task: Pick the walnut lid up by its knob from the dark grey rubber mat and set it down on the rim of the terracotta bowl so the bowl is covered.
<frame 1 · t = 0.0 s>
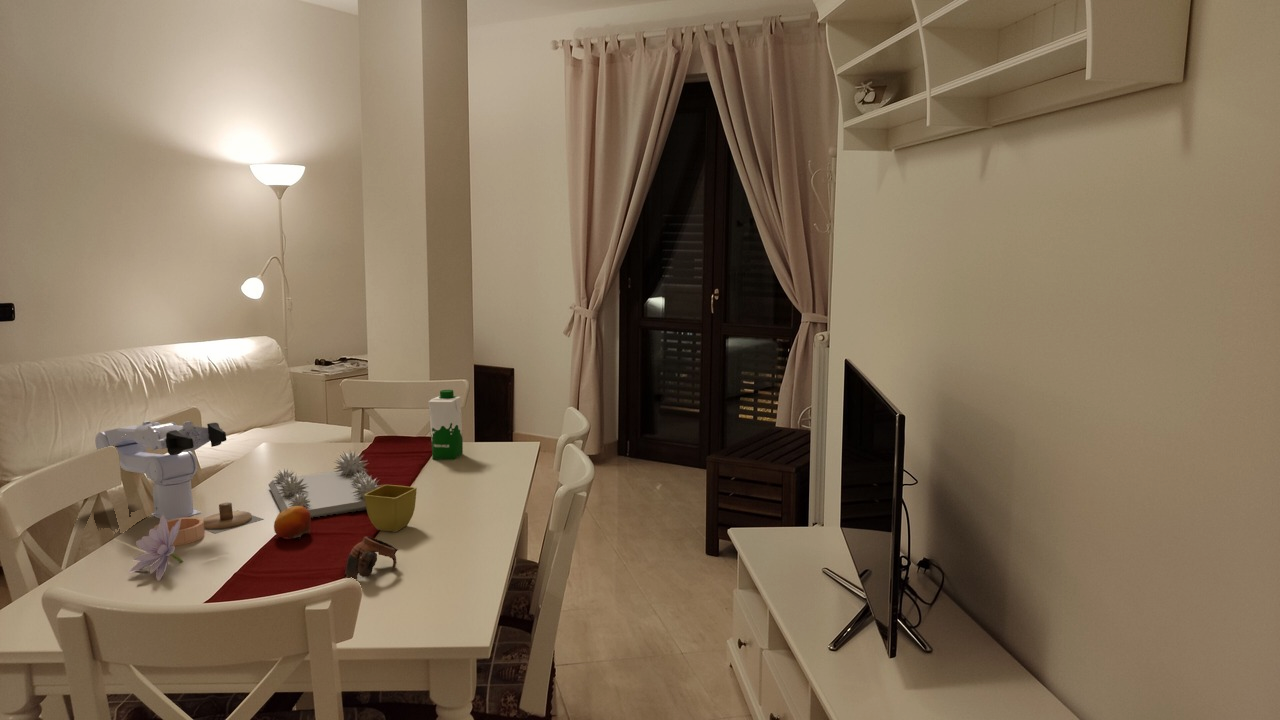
hand: (208, 439, 204), 22 cm above the table, tool horizontal, fingers open, 7 cm apart
mat: (227, 523, 212), on the table
decorative tray: (329, 500, 231), on the table
flower pot: (393, 529, 206), on the table
bowl: (180, 539, 201), on the table
fruit: (294, 536, 202), on the table
lid: (226, 521, 212), resting on mat
milk carton: (447, 457, 270), on the table
water lily: (157, 571, 183), on the table
pottery mug: (370, 575, 179), on the table
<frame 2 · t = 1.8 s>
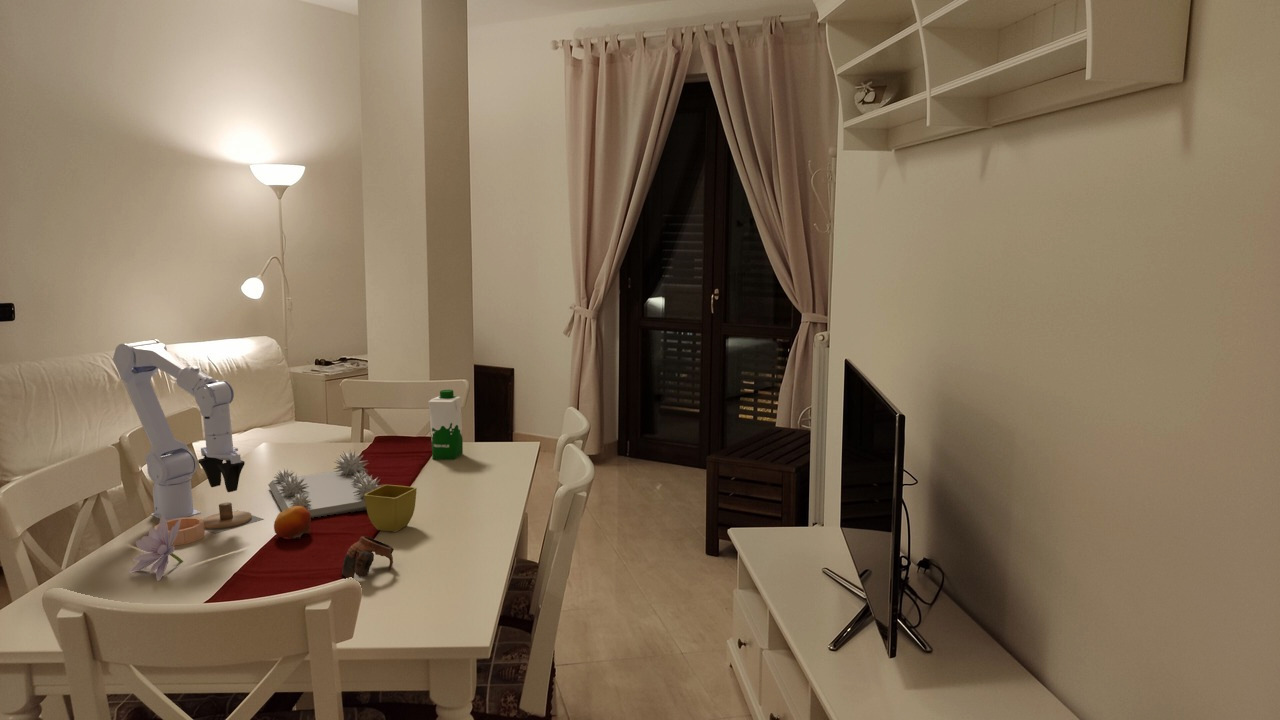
hand: (223, 488, 211), 9 cm above the table, tool pointing down, fingers open, 7 cm apart
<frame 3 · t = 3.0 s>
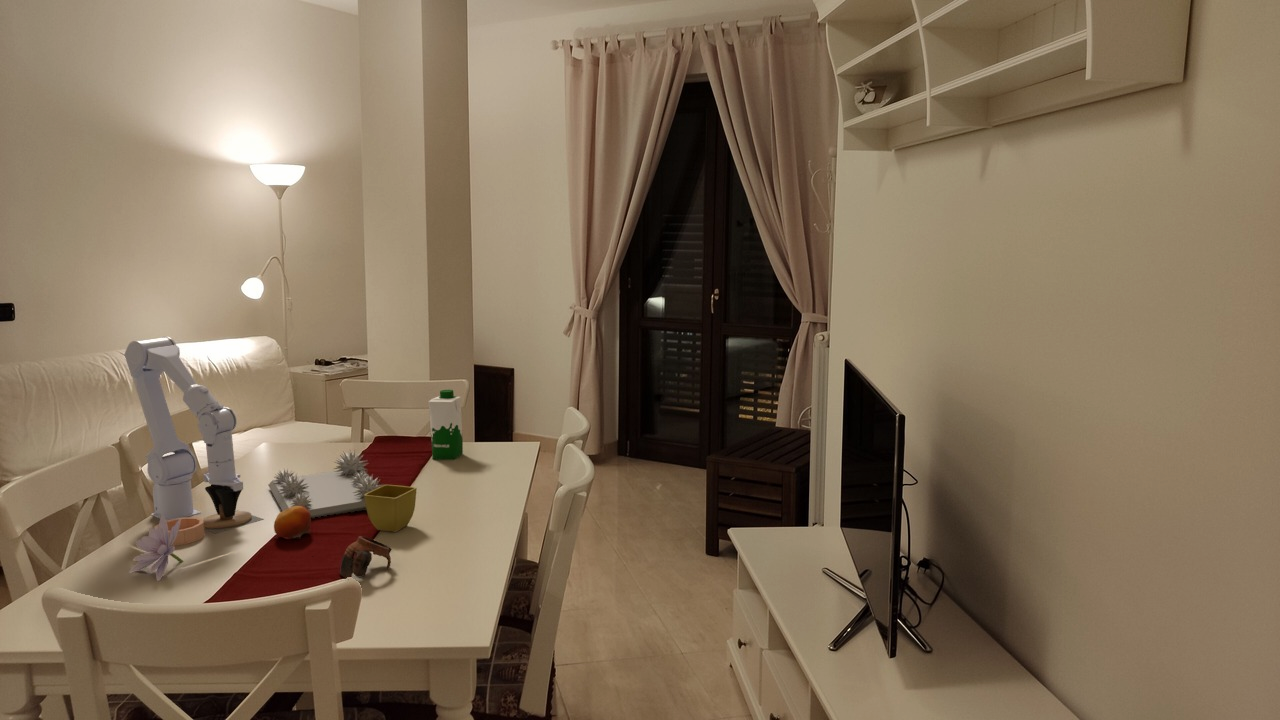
hand: (226, 515, 212), 2 cm above the table, tool pointing down, fingers closed on lid, 3 cm apart
lid: (226, 521, 212), resting on mat, touching gripper
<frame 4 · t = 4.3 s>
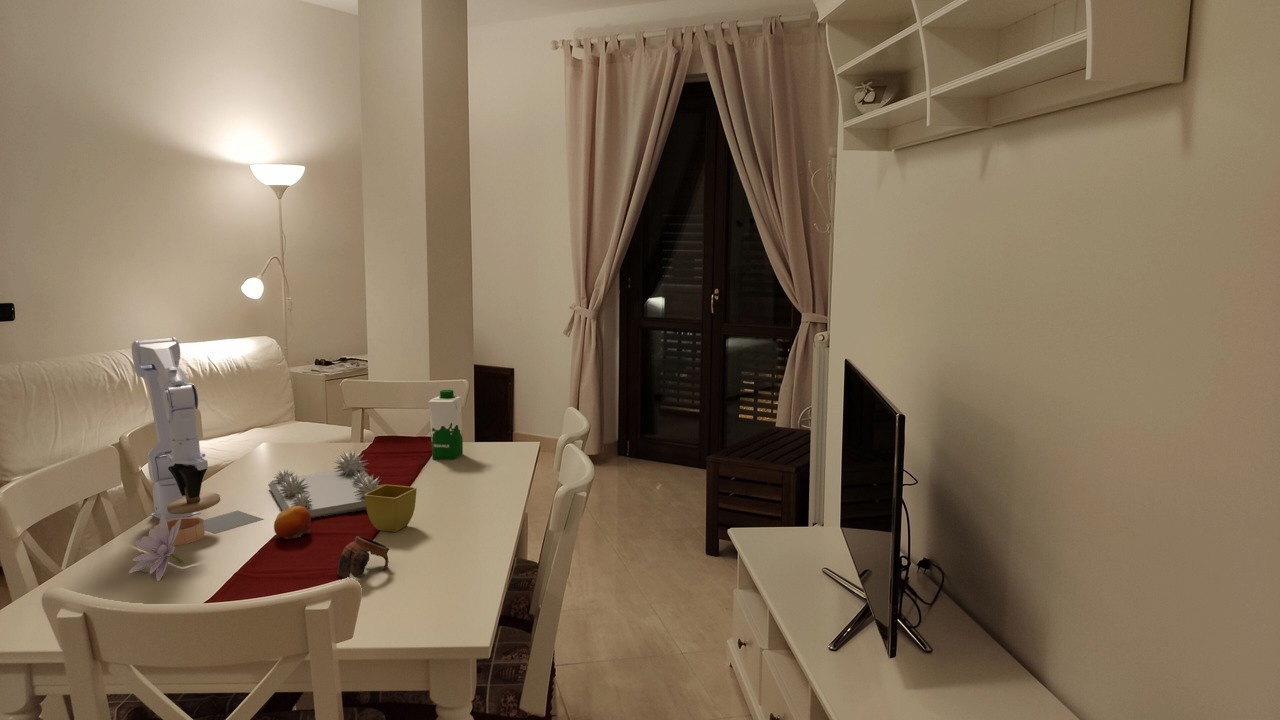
hand: (190, 495, 203), 9 cm above the table, tool pointing down, fingers closed on lid, 3 cm apart
lid: (194, 504, 204), point 7 cm above the table, touching gripper
when the fingers open (6 cm above the table, at t = 5.4 s): lid stays where it is, resting on bowl.
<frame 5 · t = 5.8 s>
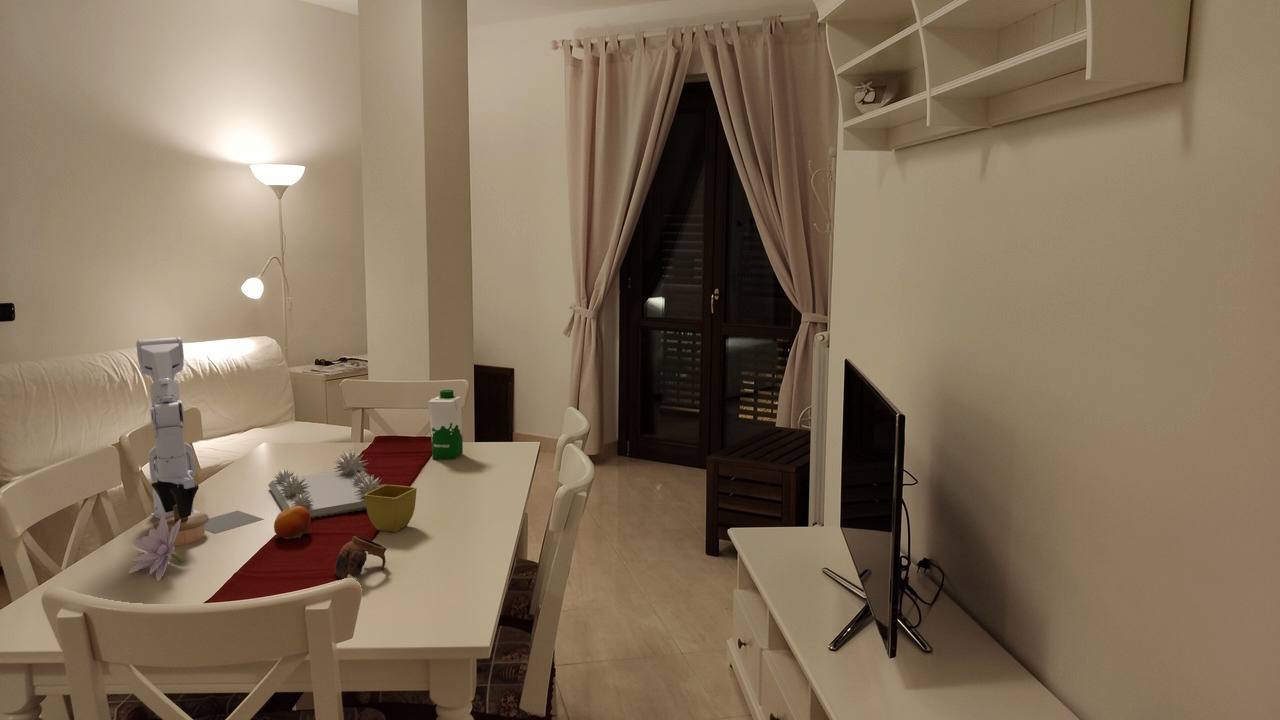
hand: (177, 513, 201), 6 cm above the table, tool pointing down, fingers open, 6 cm apart
lid: (181, 523, 201), point 3 cm above the table, touching bowl
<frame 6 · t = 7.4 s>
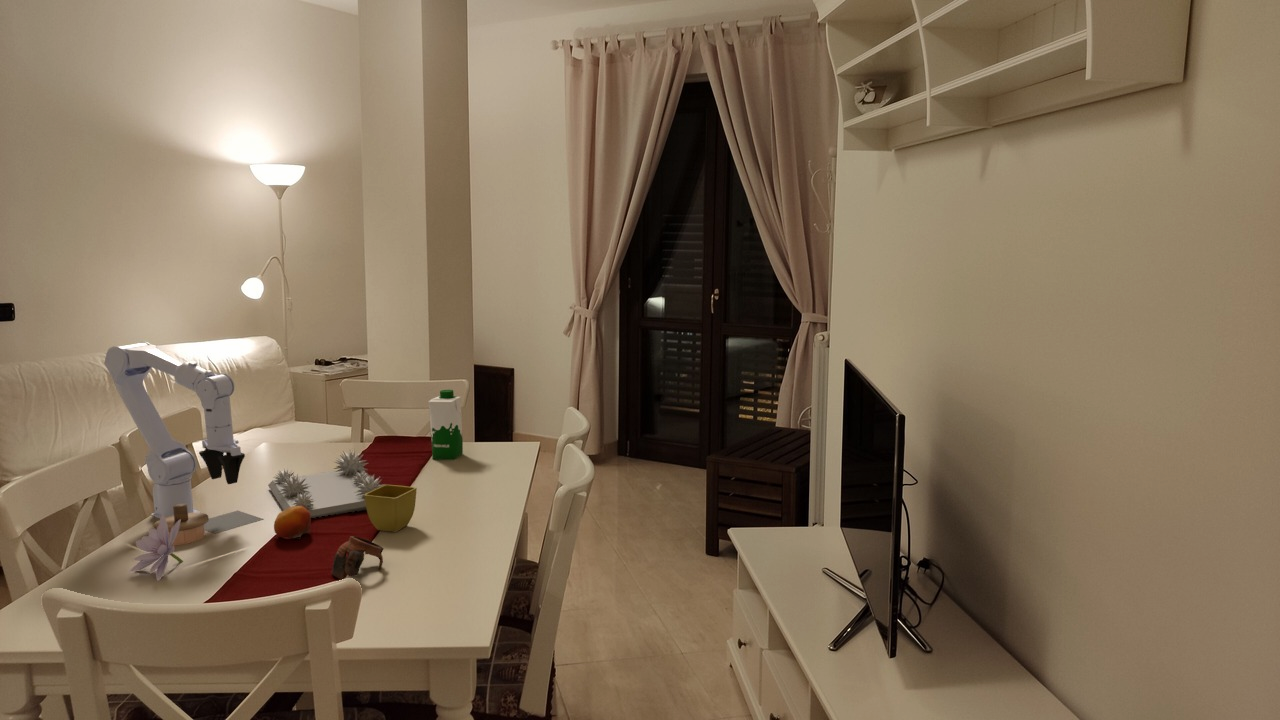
hand: (224, 480, 213), 10 cm above the table, tool pointing down, fingers open, 7 cm apart
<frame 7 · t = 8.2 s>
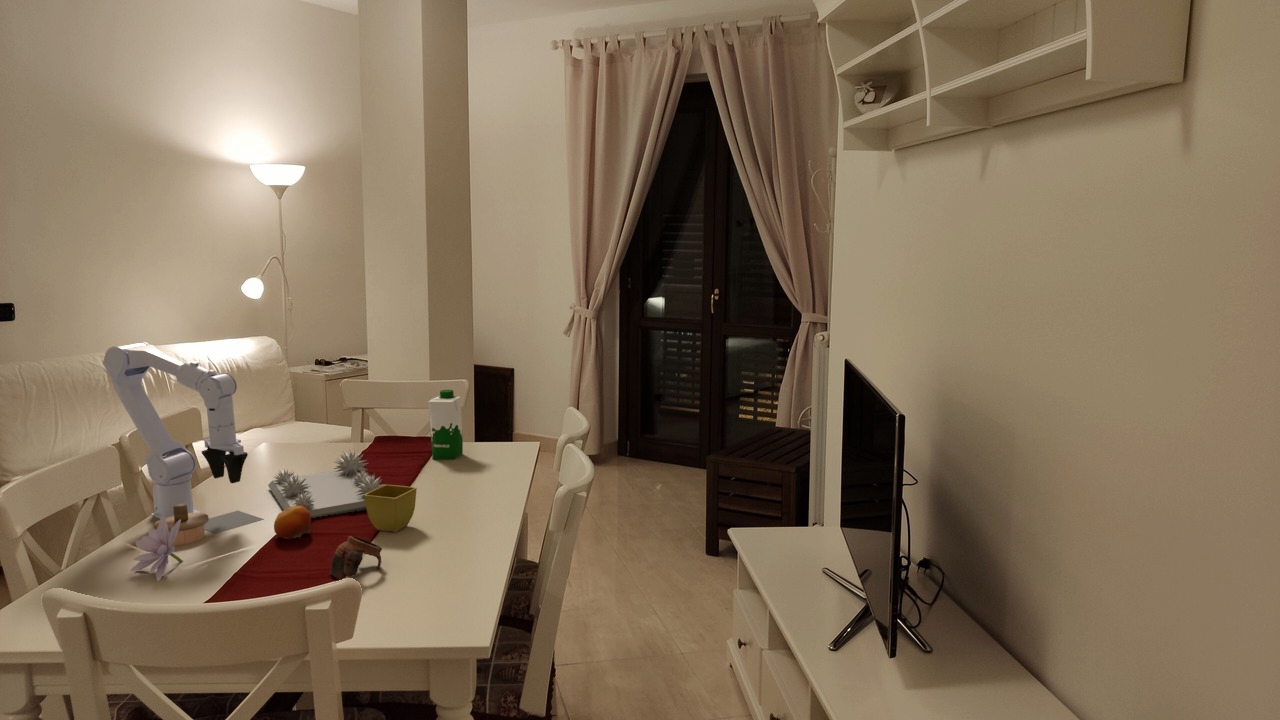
hand: (226, 479, 213), 10 cm above the table, tool pointing down, fingers open, 7 cm apart
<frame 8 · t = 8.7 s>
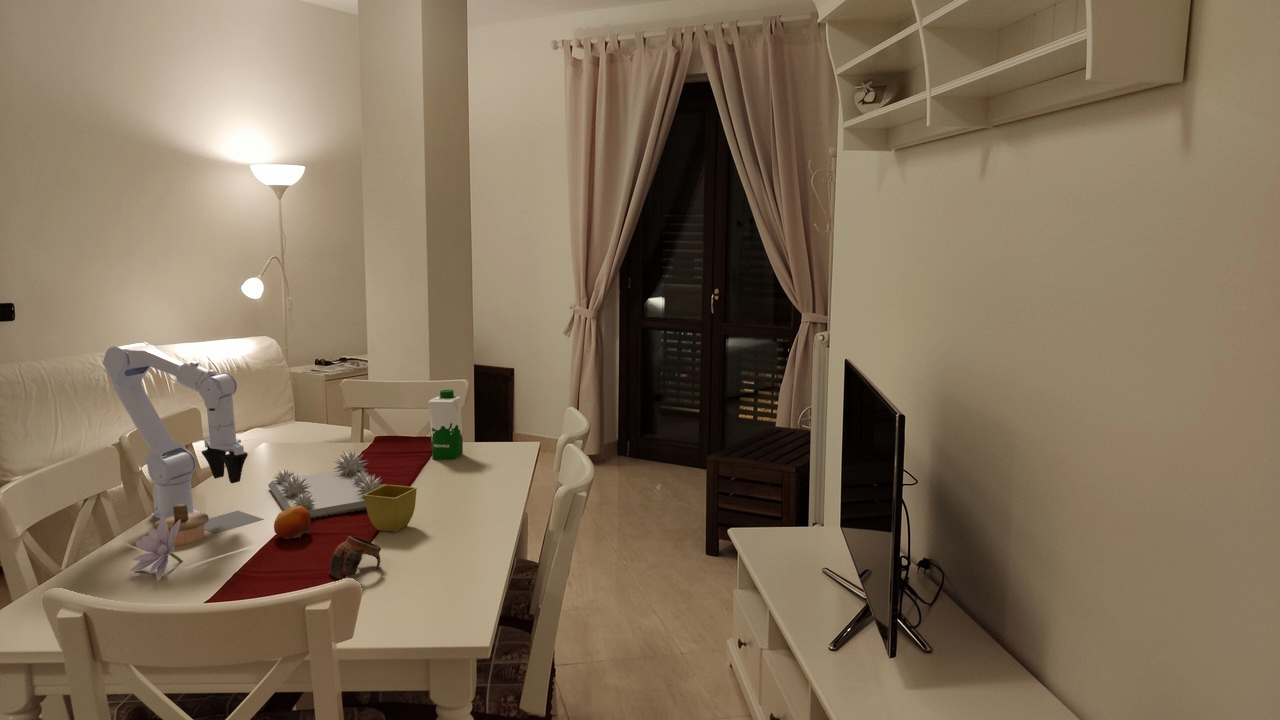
hand: (226, 479, 213), 10 cm above the table, tool pointing down, fingers open, 7 cm apart
at the end: lid 0.7 cm off-centre on the bowl, point 3.5 cm above the bowl's base; lid tilted 0°; the gripper is holding nothing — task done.
